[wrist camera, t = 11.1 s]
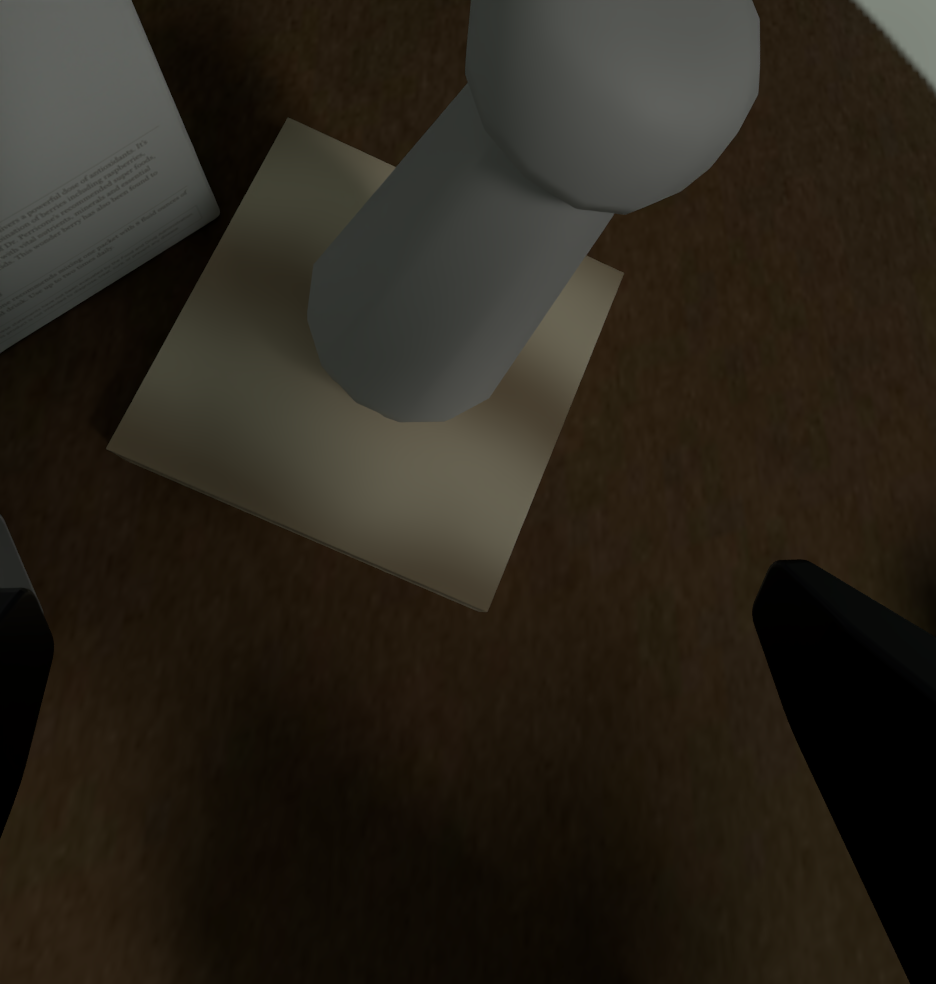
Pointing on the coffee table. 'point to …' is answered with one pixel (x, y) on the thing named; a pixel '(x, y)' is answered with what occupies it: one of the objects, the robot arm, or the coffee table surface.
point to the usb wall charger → (11, 563)
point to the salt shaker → (523, 188)
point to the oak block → (347, 396)
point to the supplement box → (85, 158)
